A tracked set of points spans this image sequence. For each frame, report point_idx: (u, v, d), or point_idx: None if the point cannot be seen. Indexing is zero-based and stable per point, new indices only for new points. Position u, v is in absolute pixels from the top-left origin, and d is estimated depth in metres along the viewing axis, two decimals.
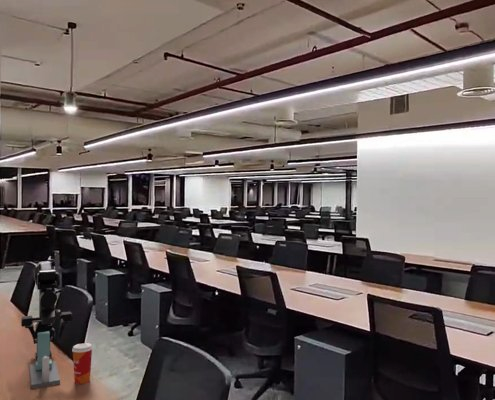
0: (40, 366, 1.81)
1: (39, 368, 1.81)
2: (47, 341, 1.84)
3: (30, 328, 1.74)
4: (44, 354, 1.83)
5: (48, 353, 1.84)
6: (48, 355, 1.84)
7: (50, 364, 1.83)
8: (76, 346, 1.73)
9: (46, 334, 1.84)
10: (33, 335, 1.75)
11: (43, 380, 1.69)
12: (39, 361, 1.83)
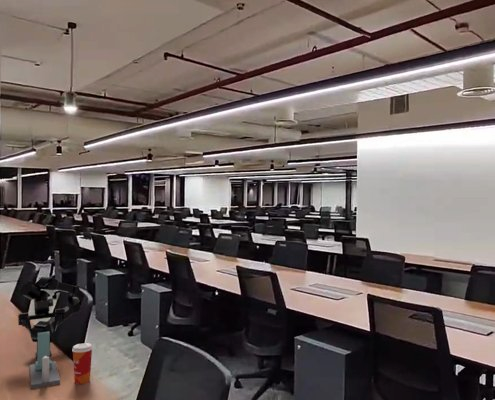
0: (40, 366, 1.81)
1: (39, 368, 1.81)
2: (47, 341, 1.84)
3: (27, 320, 1.90)
4: (44, 354, 1.83)
5: (48, 353, 1.84)
6: (48, 355, 1.84)
7: (50, 364, 1.83)
8: (76, 346, 1.73)
9: (46, 334, 1.84)
10: (30, 328, 1.90)
11: (43, 380, 1.69)
12: (39, 361, 1.83)
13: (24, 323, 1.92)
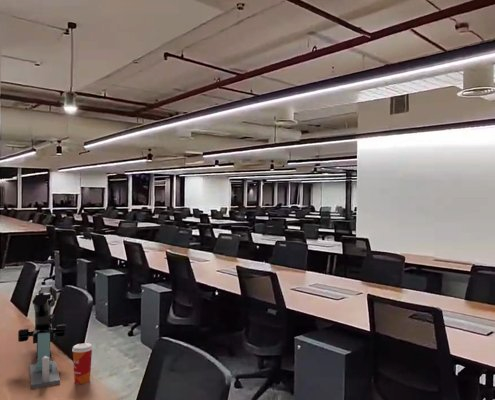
0: (40, 367, 1.79)
1: (39, 369, 1.79)
2: (47, 342, 1.83)
3: None
4: (44, 355, 1.82)
5: (49, 355, 1.83)
6: (48, 356, 1.83)
7: (50, 365, 1.81)
8: (76, 346, 1.73)
9: (46, 335, 1.82)
10: None
11: (43, 380, 1.69)
12: (39, 362, 1.81)
13: (35, 338, 1.88)
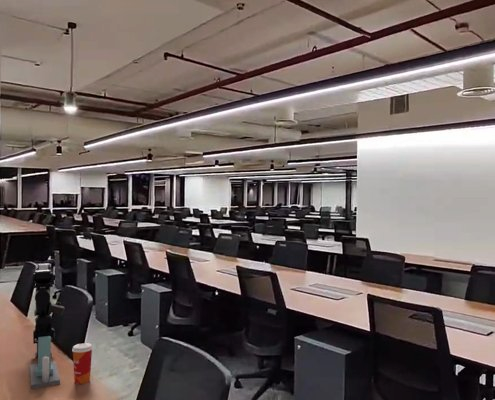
0: (41, 372, 1.74)
1: (40, 374, 1.74)
2: (48, 346, 1.78)
3: None
4: None
5: (50, 359, 1.78)
6: (49, 361, 1.78)
7: (51, 370, 1.76)
8: (76, 346, 1.73)
9: (47, 339, 1.77)
10: (45, 329, 1.90)
11: (43, 380, 1.69)
12: (40, 367, 1.76)
13: None
